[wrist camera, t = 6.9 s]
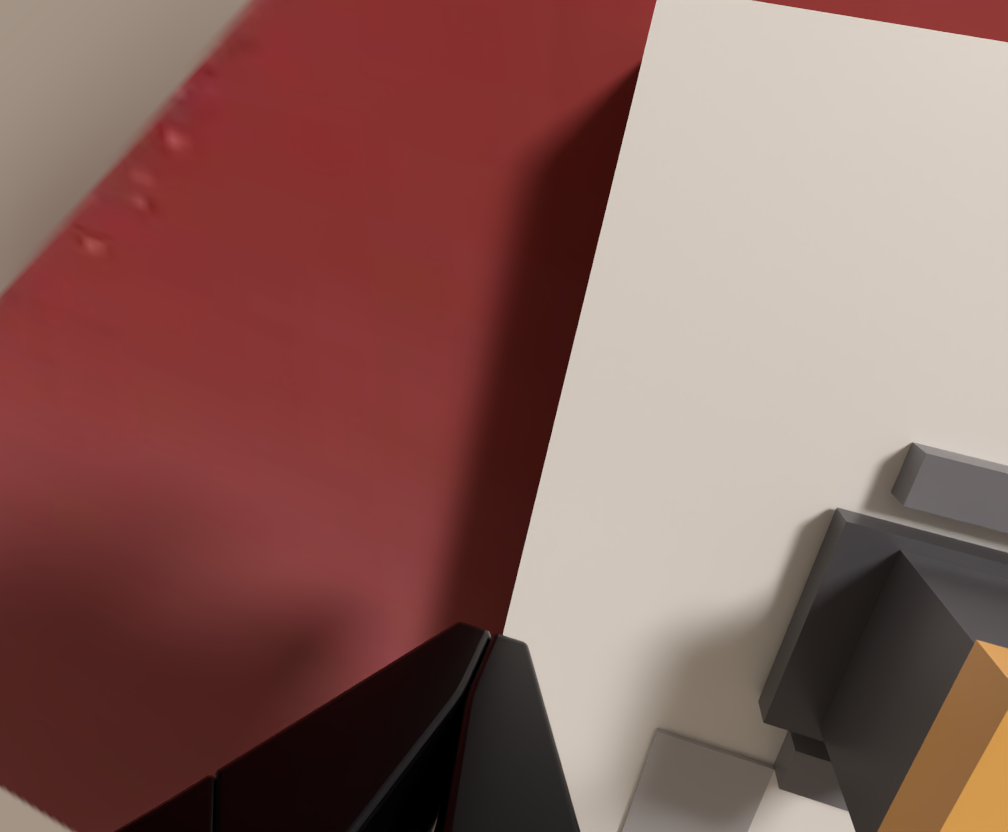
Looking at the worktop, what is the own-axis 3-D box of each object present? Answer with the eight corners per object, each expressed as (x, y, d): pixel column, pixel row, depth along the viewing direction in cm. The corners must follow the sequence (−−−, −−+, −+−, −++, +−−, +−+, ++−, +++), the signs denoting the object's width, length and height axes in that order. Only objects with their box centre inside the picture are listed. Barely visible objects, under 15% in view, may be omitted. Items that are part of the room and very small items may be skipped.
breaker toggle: (1070, 569, 9) (1340, 785, 6) (963, 764, 10) (1132, 1049, 7) (836, 506, 10) (949, 671, 6) (757, 700, 11) (813, 936, 7)
